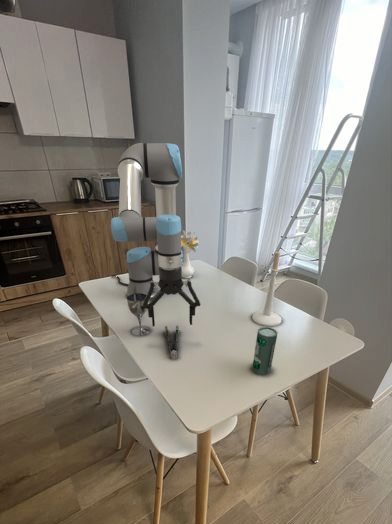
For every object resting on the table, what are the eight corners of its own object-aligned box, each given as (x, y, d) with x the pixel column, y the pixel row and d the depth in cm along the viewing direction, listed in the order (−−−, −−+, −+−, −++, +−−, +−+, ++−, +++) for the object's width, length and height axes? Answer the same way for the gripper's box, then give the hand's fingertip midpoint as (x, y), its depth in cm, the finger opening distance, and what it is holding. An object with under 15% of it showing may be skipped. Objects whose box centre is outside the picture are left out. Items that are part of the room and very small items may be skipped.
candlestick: (246, 319, 133) (254, 251, 116) (262, 310, 141) (271, 245, 124) (271, 329, 126) (284, 258, 109) (286, 318, 134) (300, 251, 117)
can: (253, 362, 106) (259, 325, 97) (271, 365, 104) (278, 328, 96) (251, 372, 101) (256, 334, 92) (269, 376, 99) (276, 338, 91)
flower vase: (184, 283, 167) (184, 237, 153) (171, 273, 180) (169, 230, 167) (204, 280, 172) (206, 235, 158) (190, 270, 186) (190, 228, 172)
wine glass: (134, 337, 118) (130, 303, 110) (128, 328, 124) (124, 295, 116) (153, 333, 122) (150, 299, 113) (146, 324, 127) (143, 291, 119)
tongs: (182, 358, 107) (182, 351, 105) (166, 359, 106) (165, 352, 105) (178, 332, 123) (178, 325, 121) (164, 332, 122) (164, 326, 121)
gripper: (130, 271, 93) (137, 330, 105) (209, 269, 96) (207, 327, 107) (132, 264, 99) (138, 320, 111) (206, 262, 102) (204, 317, 113)
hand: (172, 324), depth 109 cm, fingers open, 13 cm apart
